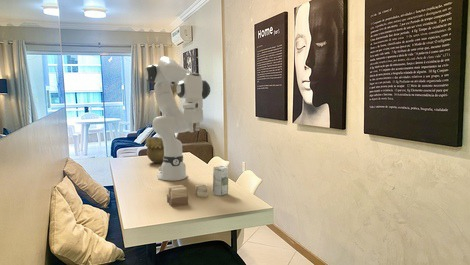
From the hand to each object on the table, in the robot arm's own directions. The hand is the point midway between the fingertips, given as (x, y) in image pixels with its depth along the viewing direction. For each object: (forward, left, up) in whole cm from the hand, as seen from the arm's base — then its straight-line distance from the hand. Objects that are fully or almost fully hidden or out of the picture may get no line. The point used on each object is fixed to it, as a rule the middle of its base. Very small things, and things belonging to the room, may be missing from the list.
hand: (194, 131), depth 183 cm
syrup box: (+7, +12, -33) cm, 36 cm away
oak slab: (+13, -13, -29) cm, 34 cm away
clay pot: (-89, +3, -33) cm, 95 cm away
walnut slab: (+13, -13, -33) cm, 38 cm away
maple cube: (+5, +2, -33) cm, 33 cm away
